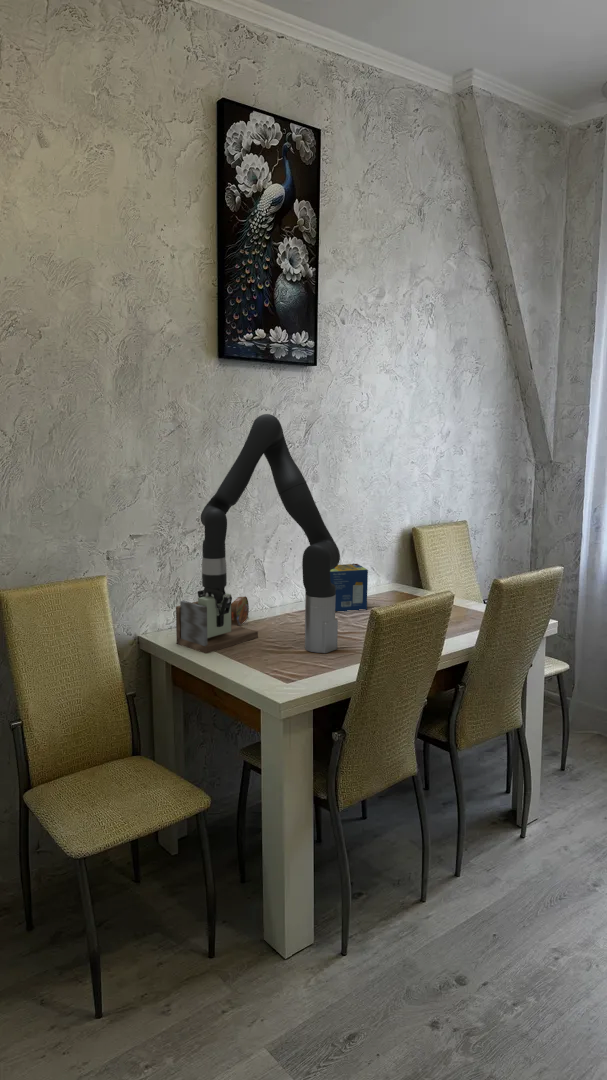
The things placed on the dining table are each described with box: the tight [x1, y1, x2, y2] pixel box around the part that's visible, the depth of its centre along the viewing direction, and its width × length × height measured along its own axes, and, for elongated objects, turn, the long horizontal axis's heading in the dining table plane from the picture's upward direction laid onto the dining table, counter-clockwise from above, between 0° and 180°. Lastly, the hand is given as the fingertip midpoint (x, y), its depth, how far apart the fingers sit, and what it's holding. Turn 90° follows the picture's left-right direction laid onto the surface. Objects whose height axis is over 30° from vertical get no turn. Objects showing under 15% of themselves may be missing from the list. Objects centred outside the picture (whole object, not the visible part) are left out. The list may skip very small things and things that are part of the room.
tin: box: [231, 596, 250, 627], centre depth 259 cm, size 15×3×8 cm, turn 168°
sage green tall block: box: [197, 592, 232, 638], centre depth 234 cm, size 4×10×12 cm, turn 138°
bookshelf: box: [175, 600, 259, 654], centre depth 238 cm, size 14×22×14 cm, turn 138°
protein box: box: [330, 563, 369, 612], centre depth 278 cm, size 10×15×16 cm
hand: (214, 624), depth 234 cm, fingers closed on sage green tall block, 4 cm apart
